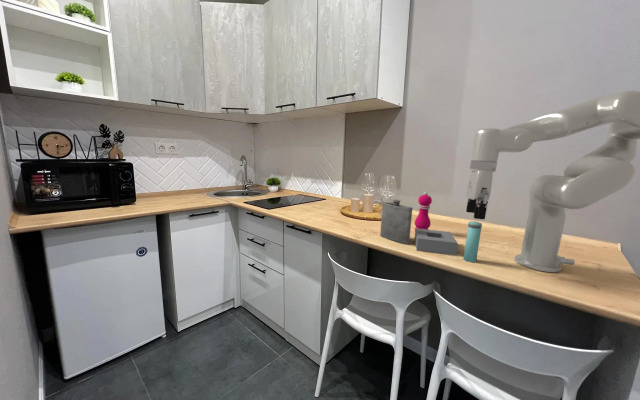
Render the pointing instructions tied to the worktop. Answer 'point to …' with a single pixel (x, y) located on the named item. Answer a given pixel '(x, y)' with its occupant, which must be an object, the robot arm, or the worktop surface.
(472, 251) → the peg
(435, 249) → the socket block
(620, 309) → the worktop surface
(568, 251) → the worktop surface
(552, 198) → the robot arm
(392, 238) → the flask
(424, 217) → the pepper mill
